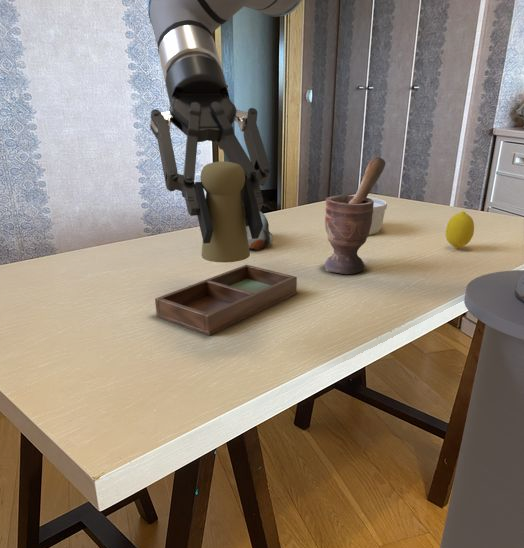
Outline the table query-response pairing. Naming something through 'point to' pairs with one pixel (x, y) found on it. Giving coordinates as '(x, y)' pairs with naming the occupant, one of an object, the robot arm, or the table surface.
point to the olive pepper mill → (225, 212)
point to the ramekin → (377, 214)
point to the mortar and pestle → (351, 222)
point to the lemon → (460, 230)
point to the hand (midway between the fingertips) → (233, 234)
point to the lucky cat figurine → (264, 237)
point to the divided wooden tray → (225, 298)
